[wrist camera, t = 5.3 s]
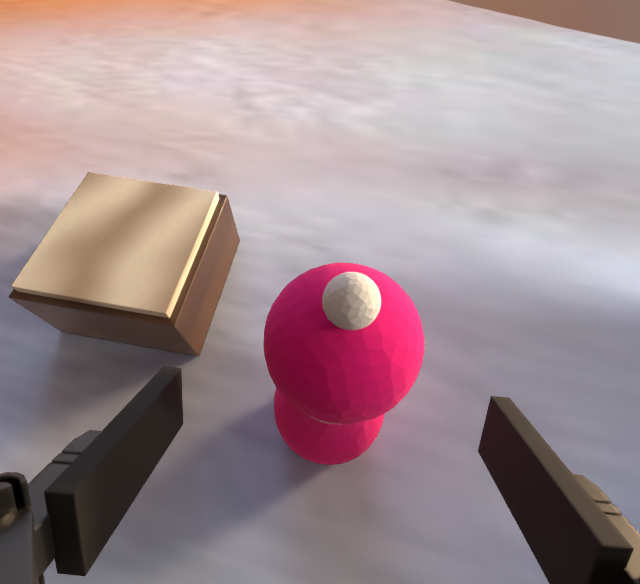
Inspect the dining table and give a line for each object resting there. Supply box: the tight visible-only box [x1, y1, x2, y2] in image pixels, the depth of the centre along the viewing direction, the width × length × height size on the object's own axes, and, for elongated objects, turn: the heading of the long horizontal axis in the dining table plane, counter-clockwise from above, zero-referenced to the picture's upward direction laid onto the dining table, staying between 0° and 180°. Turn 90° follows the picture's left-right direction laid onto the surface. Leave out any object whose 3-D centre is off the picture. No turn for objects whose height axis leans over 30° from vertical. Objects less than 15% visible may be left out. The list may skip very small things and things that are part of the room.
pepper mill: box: [264, 263, 424, 465], centre depth 19 cm, size 7×7×20 cm
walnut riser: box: [9, 172, 240, 356], centre depth 30 cm, size 12×12×7 cm
